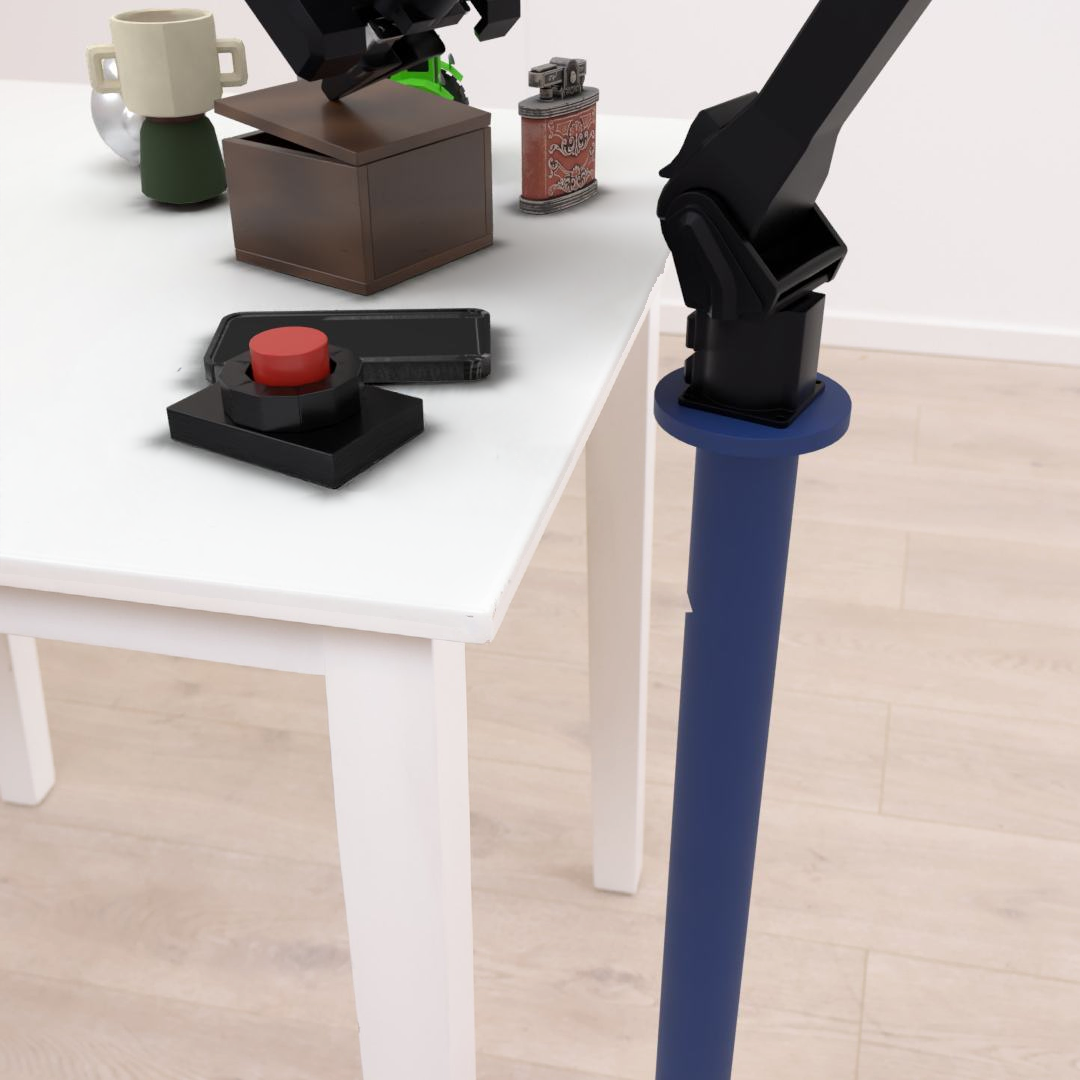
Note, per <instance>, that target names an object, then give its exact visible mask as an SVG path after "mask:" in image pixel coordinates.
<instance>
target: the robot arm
mask: <svg viewBox="0 0 1080 1080" xmlns="http://www.w3.org/2000/svg"><path fill="white" fill-rule="evenodd" d="M932 1H933V0H818V2H817V3H816V5H814V7H813V9H812V11H811V12H810V14H809V16H807V18H806V20H805V22H804V23H803V24H802V26H801V27H800V29H799V30H798V32H797V33H796V36H794V38H793V40H792V42H791V43H790V45H789V46H788V47H787V49H786V51H785V53H784V54H783V56H781V59H780V60H779V61H778V63H777V65H776V67H775V68H774V70H773V71H772V73H771V74H770V76H769V77H768V78H767V80H766V82H765V83H764V85H763V86H762V88H761V90H759V92H758V91H757V90H753V91H750V92H748V93H745V94H743V95H739V96H737V97H734V98H731V99H728V100H725V101H722V102H720V103H717V104H715V105H712V106H709V107H707V108H706V107H705V108H704V109H701V110H700V111H698V113H697V114H696V116H695V117H694V119H693V121H692V123H691V124H690V126H689V128H688V131H687V133H686V135H685V139H684V141H683V143H682V146H681V147H680V149H679V151H678V153H677V154H676V155H675V157H674V158H673V159H672V160H671V162H669V163H668V164H667V165H665V166H664V167H662V168H661V169H659V171H658V176H659V177H660V178H663V179H668V180H667V182H666V183H665V184H664V185H663V187H662V190H661V191H660V194H659V197H658V199H657V204H656V210H655V214H656V217H657V218H658V220H659V223H660V224H659V225H660V230H661V235H662V237H663V239H664V241H665V244H666V246H667V248H668V250H669V251H670V253H671V257H672V259H673V264H674V268H675V272H676V276H677V280H678V283H679V287H680V291H681V295H682V299H683V303H684V305H685V306H686V307H687V308H689V309H693V310H694V311H692V312H691V313H689V314H688V315H687V316H686V327H685V328H686V329H685V330H686V331H685V344H684V346H685V348H687V349H691V350H692V351H693V352H692V354H691V355H689V356H688V357H687V358H685V359H684V364H683V365H684V366H683V367H684V381H685V383H686V384H689V385H690V386H689V387H688V388H687V389H686V390H684V391H683V392H682V393H681V394H680V395H679V396H678V404H679V405H680V406H683V407H687V408H691V409H695V410H700V411H704V412H708V413H713V414H717V415H721V416H725V417H730V418H734V419H738V420H743V421H747V422H751V423H756V424H760V425H764V426H768V427H773V428H777V429H785V428H788V427H789V426H790V425H791V424H792V423H793V422H794V421H795V420H796V419H797V418H798V417H799V416H800V415H801V414H802V413H803V412H804V411H805V410H806V409H807V408H808V407H809V406H810V405H811V404H812V403H813V402H814V401H815V400H816V399H817V398H818V397H819V396H820V395H821V394H822V393H823V392H824V390H825V385H826V382H825V381H823V380H821V379H816V377H817V372H818V366H819V357H820V350H821V340H822V332H823V322H824V314H825V312H824V311H825V307H826V306H825V304H826V296H827V295H826V294H825V293H823V292H818V291H814V290H816V289H817V288H819V287H821V286H822V285H824V284H826V283H830V282H832V281H834V280H835V278H836V276H837V274H838V272H839V270H840V268H841V267H842V264H843V262H844V261H845V259H846V256H847V254H848V251H849V249H848V246H847V244H846V243H845V242H844V240H843V239H842V237H841V236H840V235H839V233H838V231H837V230H836V228H835V227H834V226H833V224H832V223H831V222H830V220H829V219H828V218H827V217H826V215H825V214H824V212H823V211H822V209H821V207H819V205H818V203H816V200H817V198H818V196H819V195H820V193H821V190H822V188H823V186H824V184H825V183H826V180H827V178H828V176H829V173H830V169H831V165H832V161H833V156H834V152H835V147H836V144H837V140H838V136H839V134H840V132H841V129H842V127H843V125H844V124H845V122H846V121H847V120H848V118H849V117H850V115H852V113H853V111H854V110H855V108H856V107H857V106H858V105H859V104H860V102H861V100H862V99H863V97H864V96H865V94H866V93H867V92H868V90H869V89H870V88H871V86H872V85H873V83H874V82H875V80H876V79H877V78H878V76H879V75H880V74H881V72H882V71H883V69H884V68H885V67H886V65H887V64H888V62H889V61H890V60H891V58H892V57H893V56H894V54H895V53H896V51H897V50H898V49H899V47H900V46H901V44H902V43H903V41H904V40H905V39H906V37H907V36H908V35H909V33H910V32H911V30H912V29H913V28H914V26H915V25H916V23H917V22H918V21H919V19H920V18H921V16H922V15H923V14H924V12H925V11H926V9H927V8H928V7H929V5H930V4H931V2H932ZM244 2H245V3H246V5H247V7H248V8H249V9H250V11H251V12H252V13H253V15H254V17H255V18H256V19H257V21H258V23H260V25H261V26H262V28H263V29H264V31H265V32H266V34H267V35H268V36H269V38H270V39H271V41H272V42H273V43H274V45H275V47H276V48H277V49H278V51H279V52H280V54H281V55H282V57H283V59H285V62H287V64H288V65H289V67H290V68H291V70H292V71H293V73H294V74H295V75H296V77H297V76H299V77H301V78H303V79H305V80H306V81H308V82H313V81H317V80H321V79H322V84H321V89H322V91H323V93H324V94H325V95H326V97H327V98H328V100H329V101H334V100H338V99H341V98H343V97H345V96H347V95H350V94H352V93H354V92H356V91H359V90H361V89H363V88H365V87H367V86H370V85H372V84H374V83H376V82H379V81H381V80H383V79H386V78H388V77H390V76H392V75H395V74H397V73H399V72H402V71H404V70H406V69H409V68H411V67H413V66H416V65H418V64H420V63H423V62H425V61H427V60H429V59H432V58H435V57H438V56H440V57H441V56H442V55H444V54H445V53H446V45H445V43H444V41H443V40H442V38H441V36H440V37H439V36H438V35H439V34H438V33H437V31H436V30H437V29H441V28H446V27H450V26H455V25H458V24H459V22H460V21H461V20H462V19H463V17H464V16H466V15H468V14H469V13H470V11H471V10H472V9H471V6H470V5H469V4H468V2H470V4H471V5H472V6H473V8H474V9H475V10H476V12H477V13H478V15H479V16H480V19H479V20H478V22H477V23H476V24H475V25H474V27H473V32H474V35H475V37H476V39H477V40H478V42H479V43H482V42H487V41H491V40H496V39H499V38H503V37H505V36H507V34H508V33H509V32H510V31H511V29H512V28H513V27H514V26H515V25H516V23H517V22H518V21H519V20H520V18H521V17H522V14H521V11H522V10H521V8H522V7H521V4H522V3H521V0H244Z"/></svg>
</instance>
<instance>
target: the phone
mask: <svg viewBox="0 0 1080 1080" xmlns="http://www.w3.org/2000/svg"><path fill="white" fill-rule="evenodd" d="M281 327H307V328H313V329H317V330H319V331H321V332H323V333H324V334H325V335H326V336H327V338H328V344H330V345H334V346H338V347H342V348H347V349H349V350H351V351H352V352H353V353H354V354H355V355H356V356H357V357H359V358H360V359H361V360H362V361H363V372H364V384H373V383H423V382H424V383H425V382H428V383H429V382H432V383H433V382H434V383H435V382H472V381H473V382H474V381H478V380H483V379H485V378H487V377H489V376H490V375H491V373H492V343H491V342H492V338H491V337H492V336H491V314H490V312H489V311H488V310H486V309H482V308H477V307H448V308H447V307H443V308H441V307H440V308H388V309H387V308H386V309H383V308H382V309H379V308H378V309H327V310H326V309H325V310H322V309H321V310H320V309H319V310H315V309H313V310H260V311H259V310H254V311H253V310H251V311H248V310H247V311H237V312H232V313H229V314H226V315H224V316H223V317H222V318H221V319H220V322H219V324H218V325H217V328H216V330H215V332H214V334H213V337H212V339H211V341H210V343H209V345H208V347H207V349H206V351H205V353H204V356H203V365H204V373H205V380H206V381H207V382H208V383H210V384H211V385H212V384H214V383H216V382H218V381H219V374H220V372H221V370H222V368H223V367H224V365H225V363H226V361H228V360H230V359H232V358H234V357H236V356H238V355H240V354H242V353H244V352H246V351H248V350H250V347H249V343H250V340H251V339H252V338H253V337H254V336H256V335H257V334H259V333H262V332H264V331H267V330H271V329H275V328H281Z"/></svg>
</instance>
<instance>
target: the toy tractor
mask: <svg viewBox="0 0 1080 1080" xmlns="http://www.w3.org/2000/svg"><path fill="white" fill-rule="evenodd" d="M438 36H439V37H440V38H441V36H440V34H438ZM441 59H442V58H441V56H438V57H435V58H432V59H429V60H427V61H425V62H423V63H420V64H418V65H416V66H413V67H411V68H409V69H406V70H404V71H402V72H399V73H397V74H395V75H392V76H390V77H388V78H387V79H390V80H393V81H396V82H399V83H402V84H405V85H408V86H411V87H414V88H417V89H420V90H423V91H426V92H429V93H432V94H435V95H438V96H441V97H444V98H447V99H450V100H453V101H456V102H460V103H463V104H466V105H469V106H470V100H469V96H466V94H465V92H466V89H465V88H464V86H463V85H462V84H460V83H462V81H463V79H464V75H463V74H462V73H461V72H460V71H458V69H456V68H455V67H454V66H455V65H456V61H455V58H454V56H453V53H451V52H449V54H448V56H447V59H448V63H447V62H445V61H443V60H441ZM447 72H449V73H450V74H451V75H450V74H449V73H447ZM299 80H303V78H301V77H299V76H297V75H296V81H299Z"/></svg>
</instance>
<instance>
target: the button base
mask: <svg viewBox="0 0 1080 1080" xmlns="http://www.w3.org/2000/svg"><path fill="white" fill-rule="evenodd" d="M328 348H329V359H330V370H331V373H330V375H329V376H327V377H325V378H323V379H321V380H320V381H318V382H313V383H308V384H304V385H299V386H269V385H266V384H262V383H258V382H255V381H254V378H253V372H252V364H251V355H250V350H248V351H246V352H244V353H242V354H240V355H238V356H236V357H234V358H232V359H230V360H228V361H226V363H225V365H224V367H223V368H222V370H221V372H220V374H219V381H218V382H216V383H214V384H212V383H211V384H210V385H208V386H206V387H204V388H202V389H200V390H198V391H196V392H194V393H193V394H190V395H189V396H186V397H184V398H182V399H180V400H178V401H176V402H174V403H172V404H171V405H169V406H167V407H166V408H165V410H166V416H167V422H168V430H169V435H170V439H171V440H173V441H176V442H180V443H183V444H187V445H190V446H193V447H196V448H199V449H203V450H206V451H210V452H213V453H216V454H220V455H223V456H225V457H226V456H227V457H230V458H233V459H236V460H238V461H239V460H240V461H243V462H246V463H249V464H252V465H256V466H259V467H262V468H266V469H269V470H273V471H276V472H279V473H283V474H286V475H289V476H293V477H295V478H299V479H303V480H304V481H305V480H306V481H309V482H312V483H315V484H319V485H323V486H325V487H329V488H332V489H336V488H338V487H340V486H341V485H343V484H344V483H346V482H348V481H350V480H351V479H352V478H354V477H355V476H356V475H358V474H360V473H361V472H363V471H364V470H366V469H368V468H369V467H370V466H372V465H373V464H375V463H377V462H378V461H379V460H381V459H382V458H384V457H386V456H387V455H388V454H390V453H392V452H394V451H395V450H396V449H398V448H399V447H401V446H402V445H404V444H405V443H407V442H409V441H410V440H412V439H413V438H415V437H416V436H417V435H419V434H421V433H423V431H425V417H424V416H425V415H424V414H425V413H424V399H423V398H422V397H421V398H420V397H416V396H412V395H408V394H405V393H400V392H397V391H393V390H389V389H385V388H381V387H377V386H373V385H369V384H367V383H364V372H363V361H362V360H361V359H360V358H359V357H357V356H356V355H355V354H354V353H353V352H352V351H351V350H349V349H347V348H342V347H338V346H334V345H330V344H328Z"/></svg>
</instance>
